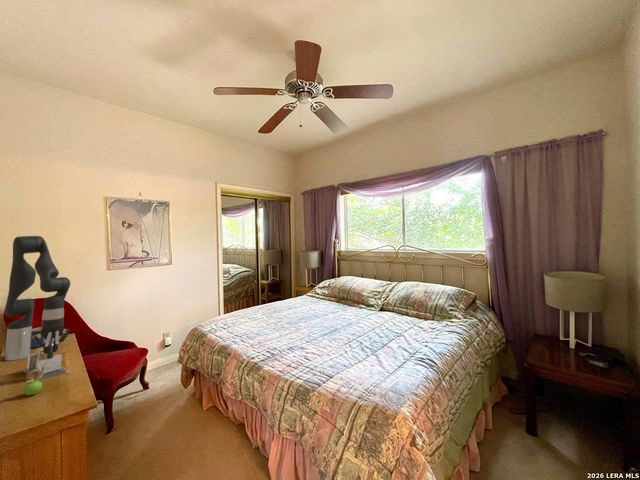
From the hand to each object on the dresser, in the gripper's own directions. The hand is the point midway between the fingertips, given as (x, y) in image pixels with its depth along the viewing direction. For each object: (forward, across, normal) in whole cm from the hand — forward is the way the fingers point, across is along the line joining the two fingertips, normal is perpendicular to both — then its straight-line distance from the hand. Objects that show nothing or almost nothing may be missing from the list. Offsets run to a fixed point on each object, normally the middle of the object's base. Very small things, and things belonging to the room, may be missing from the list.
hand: (50, 352), depth 126 cm
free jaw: (+9, 0, 0) cm, 9 cm away
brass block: (+10, 0, +9) cm, 13 cm away
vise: (+11, 0, +6) cm, 13 cm away
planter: (+11, +12, +59) cm, 61 cm away
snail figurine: (+11, -9, -17) cm, 23 cm away
